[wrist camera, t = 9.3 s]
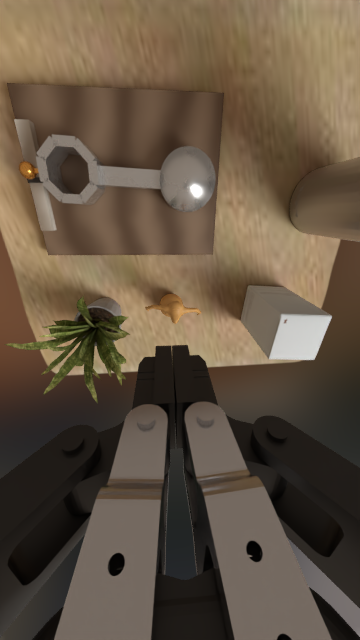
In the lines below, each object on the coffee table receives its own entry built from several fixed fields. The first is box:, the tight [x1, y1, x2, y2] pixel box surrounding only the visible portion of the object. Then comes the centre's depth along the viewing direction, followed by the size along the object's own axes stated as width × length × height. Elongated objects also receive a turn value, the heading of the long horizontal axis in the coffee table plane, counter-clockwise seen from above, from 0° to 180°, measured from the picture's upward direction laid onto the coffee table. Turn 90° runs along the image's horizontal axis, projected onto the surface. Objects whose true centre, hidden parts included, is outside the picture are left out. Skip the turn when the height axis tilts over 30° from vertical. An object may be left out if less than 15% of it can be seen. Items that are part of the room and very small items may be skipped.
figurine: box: [145, 294, 201, 324], centre depth 35 cm, size 8×6×12 cm
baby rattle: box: [19, 134, 216, 212], centre depth 28 cm, size 24×7×4 cm, turn 87°
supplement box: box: [241, 285, 332, 360], centre depth 36 cm, size 7×7×13 cm
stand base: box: [7, 83, 224, 255], centre depth 31 cm, size 25×19×3 cm
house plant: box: [6, 296, 130, 402], centre depth 33 cm, size 14×14×16 cm
